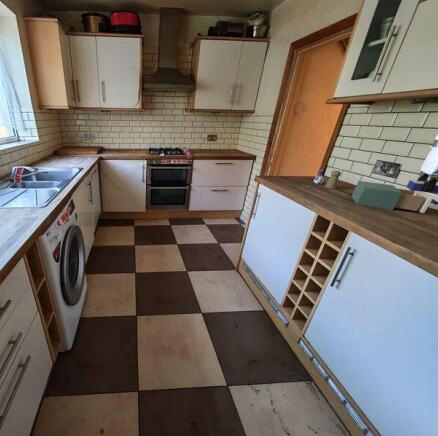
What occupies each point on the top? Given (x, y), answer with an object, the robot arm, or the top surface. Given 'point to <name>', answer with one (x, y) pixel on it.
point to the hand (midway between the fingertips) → (422, 189)
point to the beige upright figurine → (333, 179)
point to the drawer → (414, 201)
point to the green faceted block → (376, 195)
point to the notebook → (418, 184)
